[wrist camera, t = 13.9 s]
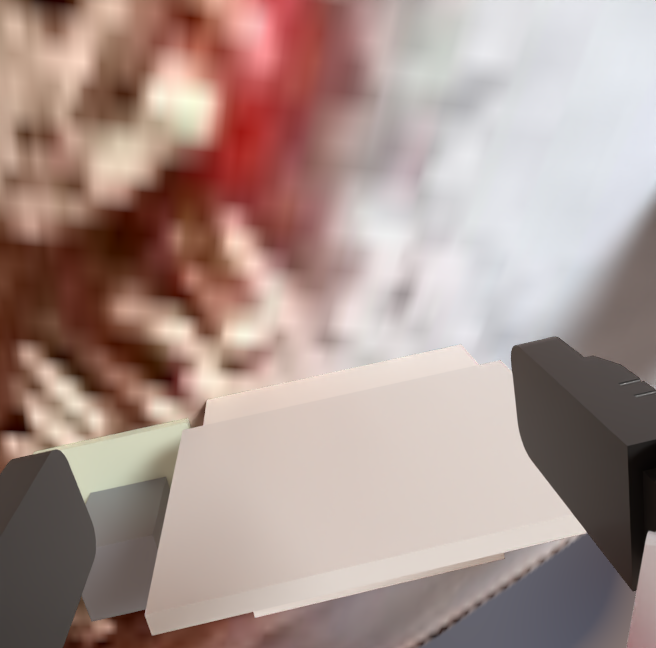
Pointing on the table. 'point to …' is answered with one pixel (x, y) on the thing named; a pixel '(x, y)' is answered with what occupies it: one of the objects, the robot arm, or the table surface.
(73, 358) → the table surface
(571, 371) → the robot arm
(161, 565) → the case
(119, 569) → the block
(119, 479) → the mat
